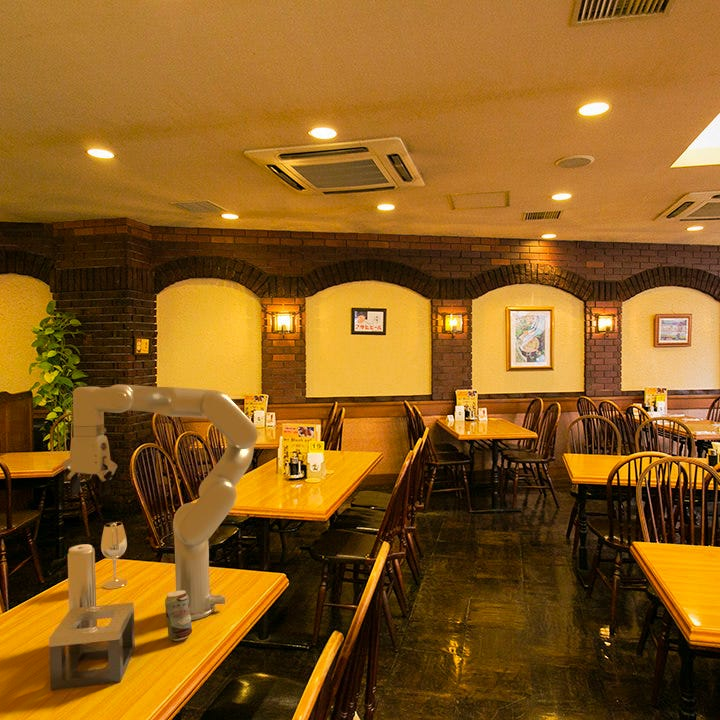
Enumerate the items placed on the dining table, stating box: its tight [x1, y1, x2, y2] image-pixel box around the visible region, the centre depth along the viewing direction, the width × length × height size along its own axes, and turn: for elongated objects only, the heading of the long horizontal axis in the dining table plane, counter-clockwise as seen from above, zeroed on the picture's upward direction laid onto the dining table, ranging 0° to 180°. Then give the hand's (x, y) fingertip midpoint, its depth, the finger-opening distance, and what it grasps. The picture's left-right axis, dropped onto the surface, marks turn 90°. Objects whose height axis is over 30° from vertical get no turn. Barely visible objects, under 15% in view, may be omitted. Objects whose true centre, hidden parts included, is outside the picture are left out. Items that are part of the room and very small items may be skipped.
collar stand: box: [48, 601, 136, 691], centre depth 135 cm, size 15×15×12 cm
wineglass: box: [100, 521, 128, 590], centre depth 185 cm, size 8×8×20 cm
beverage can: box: [164, 590, 193, 642], centre depth 149 cm, size 6×7×12 cm
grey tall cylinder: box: [67, 543, 98, 646], centre depth 149 cm, size 6×6×25 cm
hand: (89, 493), depth 153 cm, fingers open, 9 cm apart
